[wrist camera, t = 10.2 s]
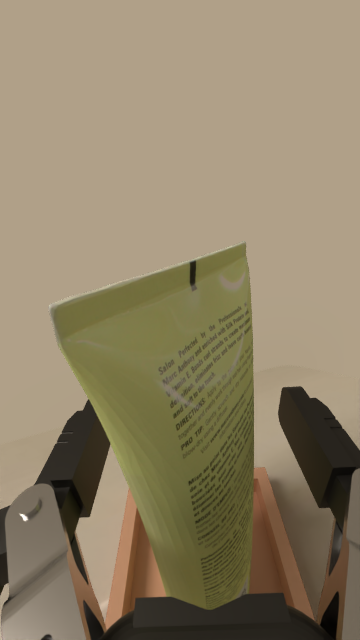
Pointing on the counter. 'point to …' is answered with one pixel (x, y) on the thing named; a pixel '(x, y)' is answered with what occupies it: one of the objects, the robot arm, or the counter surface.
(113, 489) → the counter surface
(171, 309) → the tube
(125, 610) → the tray
